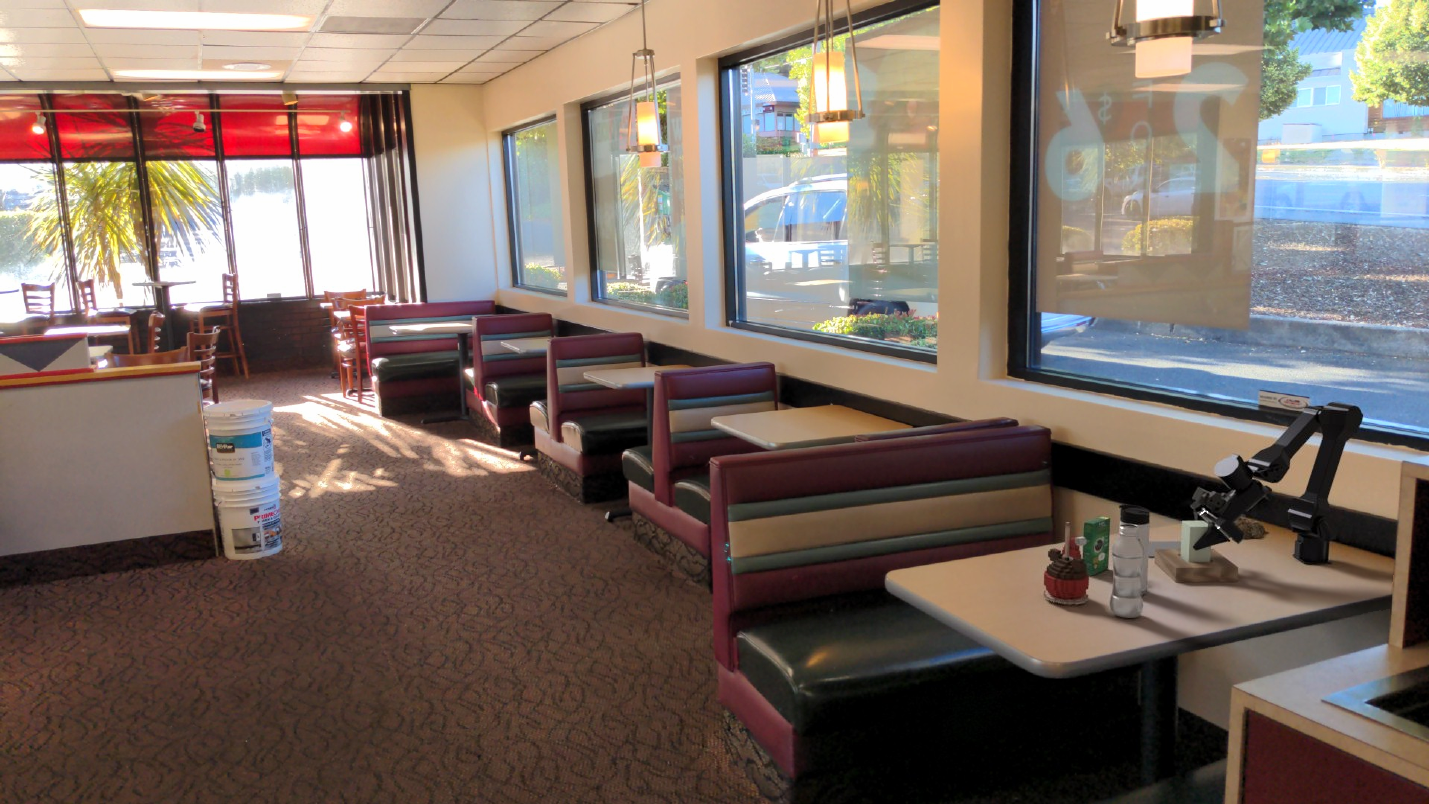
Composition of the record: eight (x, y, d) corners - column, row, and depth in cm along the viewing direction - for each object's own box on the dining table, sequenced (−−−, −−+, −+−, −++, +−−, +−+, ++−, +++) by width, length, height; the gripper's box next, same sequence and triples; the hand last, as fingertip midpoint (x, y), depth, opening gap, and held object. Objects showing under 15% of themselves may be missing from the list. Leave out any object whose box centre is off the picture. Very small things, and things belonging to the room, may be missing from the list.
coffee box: (1098, 566, 253) (1100, 514, 251) (1109, 569, 251) (1111, 516, 249) (1080, 573, 248) (1082, 521, 246) (1091, 576, 246) (1093, 523, 244)
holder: (1212, 562, 254) (1213, 548, 253) (1237, 581, 240) (1238, 567, 239) (1154, 562, 255) (1154, 549, 254) (1175, 582, 241) (1176, 567, 240)
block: (1201, 568, 249) (1203, 520, 247) (1209, 575, 245) (1212, 526, 243) (1179, 568, 250) (1182, 520, 248) (1187, 575, 245) (1190, 526, 243)
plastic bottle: (1145, 622, 218) (1149, 531, 214) (1111, 620, 219) (1114, 530, 216) (1139, 611, 224) (1142, 522, 221) (1106, 609, 225) (1109, 521, 222)
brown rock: (1217, 524, 286) (1218, 506, 285) (1267, 530, 278) (1268, 512, 277) (1207, 536, 275) (1208, 518, 274) (1259, 543, 268) (1260, 524, 267)
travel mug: (1123, 584, 240) (1126, 501, 237) (1151, 591, 236) (1155, 506, 232) (1111, 591, 236) (1114, 507, 233) (1139, 598, 231) (1143, 512, 228)
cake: (1033, 595, 235) (1034, 519, 232) (1065, 589, 239) (1067, 514, 236) (1066, 611, 225) (1068, 531, 222) (1099, 603, 229) (1101, 525, 226)
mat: (1179, 542, 269) (1179, 541, 269) (1198, 557, 258) (1198, 555, 258) (1132, 543, 270) (1132, 541, 270) (1148, 557, 258) (1148, 556, 258)
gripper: (1200, 467, 252) (1152, 512, 255) (1233, 486, 234) (1181, 534, 236) (1232, 498, 253) (1183, 542, 256) (1267, 520, 235) (1214, 567, 237)
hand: (1189, 545), depth 246 cm, fingers closed on block, 5 cm apart
